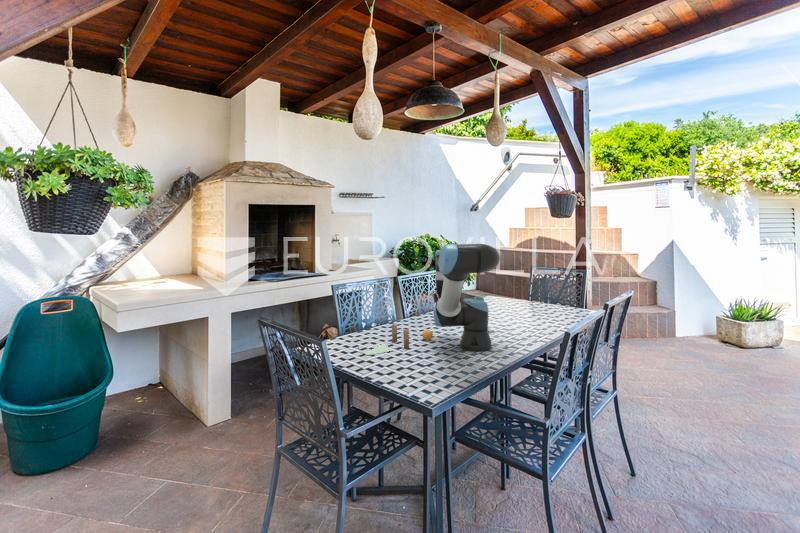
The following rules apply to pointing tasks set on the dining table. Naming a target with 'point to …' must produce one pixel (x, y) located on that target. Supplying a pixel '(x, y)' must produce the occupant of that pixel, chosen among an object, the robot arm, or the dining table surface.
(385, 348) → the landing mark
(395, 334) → the post
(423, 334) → the ball
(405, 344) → the post
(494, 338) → the dining table surface
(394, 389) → the dining table surface
